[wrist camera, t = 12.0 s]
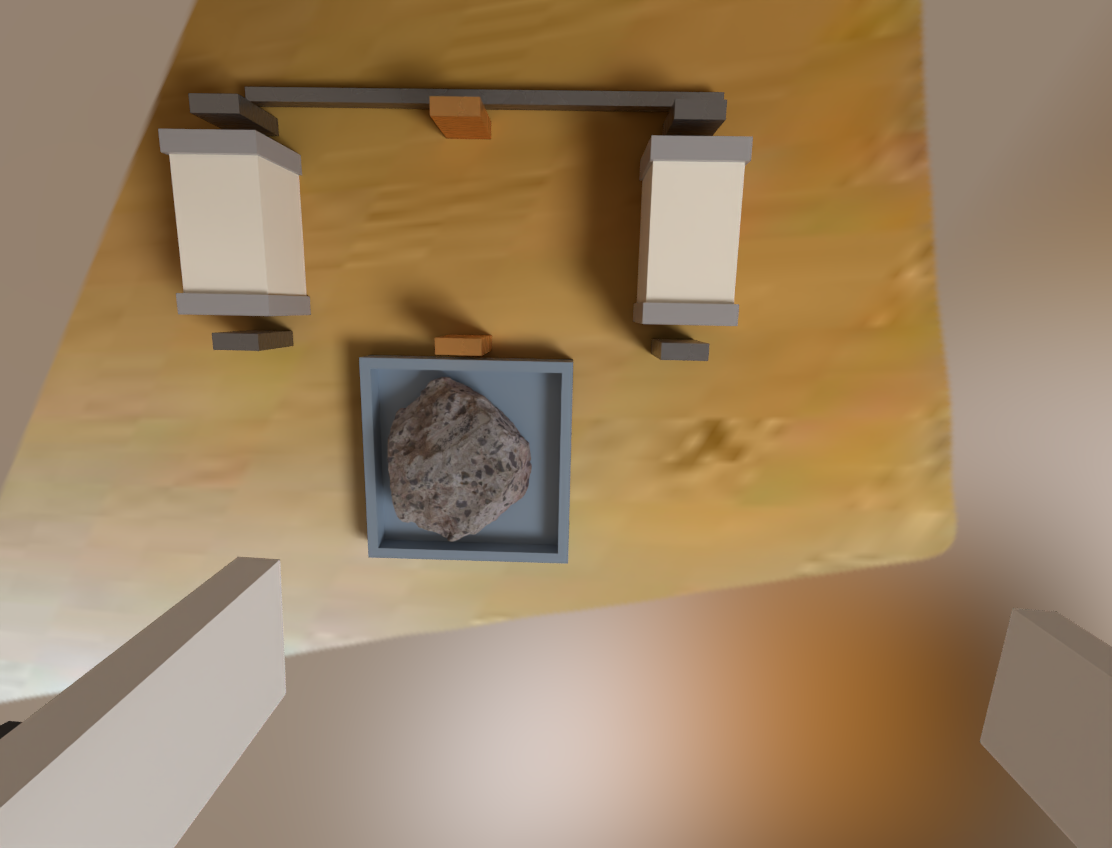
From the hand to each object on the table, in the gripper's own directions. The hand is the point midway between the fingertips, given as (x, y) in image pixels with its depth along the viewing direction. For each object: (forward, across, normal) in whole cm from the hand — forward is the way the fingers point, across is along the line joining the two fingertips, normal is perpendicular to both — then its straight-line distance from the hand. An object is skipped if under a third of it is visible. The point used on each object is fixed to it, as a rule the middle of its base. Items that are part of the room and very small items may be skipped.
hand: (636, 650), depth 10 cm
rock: (+29, -9, -5) cm, 31 cm away
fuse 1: (+30, -22, +9) cm, 38 cm away
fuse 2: (+30, +5, +10) cm, 32 cm away
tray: (+29, -8, -5) cm, 31 cm away
